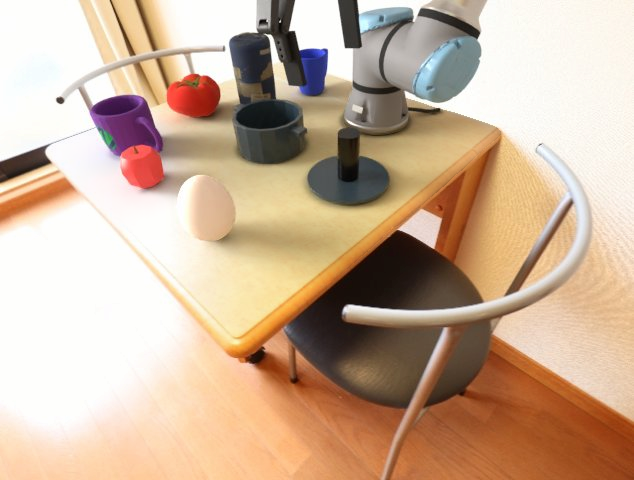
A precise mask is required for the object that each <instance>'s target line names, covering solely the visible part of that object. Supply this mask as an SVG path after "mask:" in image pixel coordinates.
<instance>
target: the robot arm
mask: <svg viewBox="0 0 634 480" xmlns="http://www.w3.org/2000/svg"><path fill="white" fill-rule="evenodd" d="M487 2H488V0H431V1H429V2H427V3H426V4H423V5H421V6H420V8H419V10H418V13H417V15H416V18H415V14H414V10H413V9H412V8H411V7H408V6H393V7H383V8H375V9H370V10H366V11H363V12H361V13H360V12H359V4H358V3H359V2H358V0H337V6H338V11H339V17H340V18H339V19H340V25H341V33H342V38H343V46H344V49H352V81H351V82H352V84H351V90H350V93H349V96H348V98H347V102H346V104H345V108H344V111H343V122H344V124H345V126H346V128H355V129H358V130H359V131H360V133H361V134H364V135H370V136H383V135H390V134H394V133H398V132H399V131H401V130H403V129H404V128H405V127H406V126H407V125H408V123H409V116H410V112H416V113H417V112H418V113H424V114H432V113H433V114H434V113H439V112H441V111H442V108H441V107H436V108H422V107H410V106H408V102H407V97H406V92H407V93H409V94H411V95H413V96H415V98H418V99H419V100H424V101H425V100H426V101H428V102H431V103H434V104H441V103H446V102H449V101H450V100H452V99H453V98H455V97H457V96H459V94H461V93H462V92H463V91H464V90H465V89H466V88H467V86H468V85H469V84H470V83H471V82H472V80H473V78H474V77H475V75H476V73H477V71H478V69H479V67H480V63H481V60H480V59H481V57H482V46H481V43H480V41H479V38H480V36H481V33H482V27H481V24H480V16H481V14H482V12H483V10H484V8H485V6H486V4H487ZM295 3H296V0H256V18H255V19H256V20H255V21H256V23H255V28H256V33H259V34H265V35H266V36H271V37H272V39H273V42H274V46H275V50H276V53H277V57H278V60H279V62H280V63H281V64H282V65H283V69H284V72H285V73H284V74H285V77H286V80H287V85H288V86H289V87H299V86H301V87H304V86H305V85H307V81H306V77H305V73H304V68H303V64H302V59H301V55H300V50H301V49H300V45H299V42H298V37H297V33H296V30H290V28H291V25H292V24H291V23H292V19H293V13H294V8H295Z"/></svg>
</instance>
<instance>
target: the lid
mask: <svg viewBox="0 0 634 480" xmlns="http://www.w3.org/2000/svg"><path fill="white" fill-rule="evenodd" d="M361 134H362V133H360V131H359V130H358V129H355V128H349V127H343V128H340V129H339V130H338V131H337V155H333V156H329V157H327V158H326V157H325V158H323V159H322V160H320V161H318V162H317V163H315V164H314V165H313V166H312V167H310V168H309V171H308V173H307V177H306V179H307V185H308V187H309V189H310V190H311V192H312V193H313V194H314V195H315V196H317V197H318V198H320V199H322V200H324V201H327V202H330V203H333V204H334V203H335V204H339V205H358V204H362V203H367V202H371V201H372V200H374V199H377V198H378V197H380V196H381V195H383V194H384V193H385V192H386V191H387V189H388V187H389V184H390V174H389V172H388V169H387V168H386V167H385V166H384V165H383V164H382V163H380V162H379V161H378V160H375V159H374V158H370V157H367V156H363V155H360V154H361V153H360V152H361Z"/></svg>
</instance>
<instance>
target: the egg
mask: <svg viewBox="0 0 634 480" xmlns="http://www.w3.org/2000/svg"><path fill="white" fill-rule="evenodd" d="M176 210H177V216H178V219H179V221H180V224H181V226H182V227H183V229H184V231H186V232H187V233H188V234H189V235H190V236H191V237H193V238H194V239H197V240H200V241H203V242H215V241H216V242H217V241H219V240H221V239H223V238H225V237H226V236H227V235H228V234H229V233H230V231H231V230H232V229H233V227H234V226H235V225H234V224H235V222H236V216H237V212H236V204H235V202H234V199H233V197H232V195H231V193H230V191H228V189H227V188H226V187H225V186H224V185H223V183H221V182H220V180H219V181H218V180H217V179H216V178H215V177H212V176H209V175H206V174H198V175H193V176H192V177H189V178H188V179H186V180H185V181H184V183H183V184H182V186H181V187H180V190H179V191H178V195H177V202H176Z"/></svg>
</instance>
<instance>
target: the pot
mask: <svg viewBox="0 0 634 480" xmlns="http://www.w3.org/2000/svg"><path fill="white" fill-rule="evenodd" d="M232 109H233V113H232V118H231V122H232V126H233V131H234V135H235V140H236V145H237V150H238V152H239V154H240V156H241V157H242V158H243V159H245V160H246V161H249V162H251V163H256V164H262V165H271V164H272V165H273V164H279V163H283V162H287V161H289V160H292V159H294V158H296V157H297V156H299V155H300V154H301V153H302V152H303V151H304V149H305V146H306V140H305V139H306V138H305V135H307V134H308V127H306V126H304V113H303V108H302V107H301V106H300V105H299V104H298V103H296V102H294V101H291V100H288V99H280V98H276V99H266V100H259V101H255V102H251V103H248V104H246V105H244V104H242V103H240V102H239V103H238V104H236V105H234V106H232Z"/></svg>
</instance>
